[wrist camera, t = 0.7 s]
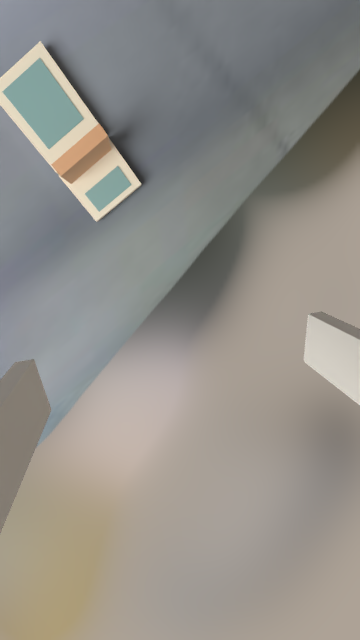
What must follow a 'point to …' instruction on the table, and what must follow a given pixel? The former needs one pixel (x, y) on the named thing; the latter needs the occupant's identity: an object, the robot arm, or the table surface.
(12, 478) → the robot arm
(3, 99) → the cream tablet with screen
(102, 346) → the table surface
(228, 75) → the table surface
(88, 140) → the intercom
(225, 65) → the table surface
